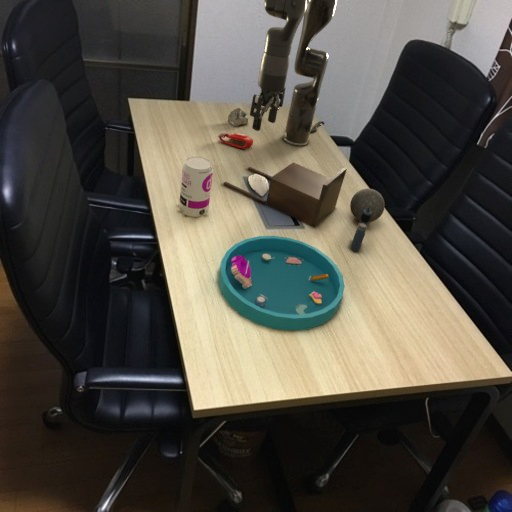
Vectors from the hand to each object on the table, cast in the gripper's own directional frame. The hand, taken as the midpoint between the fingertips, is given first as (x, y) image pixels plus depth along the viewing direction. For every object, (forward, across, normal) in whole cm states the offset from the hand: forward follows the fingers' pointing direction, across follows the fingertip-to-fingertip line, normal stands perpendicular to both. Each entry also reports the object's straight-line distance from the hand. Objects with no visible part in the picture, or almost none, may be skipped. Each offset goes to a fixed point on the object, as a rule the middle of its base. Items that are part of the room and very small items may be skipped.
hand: (263, 125), depth 147 cm
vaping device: (+20, -6, -38) cm, 44 cm away
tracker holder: (+20, +21, +21) cm, 36 cm away
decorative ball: (+20, +9, -34) cm, 41 cm away
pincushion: (+20, +1, -1) cm, 20 cm away
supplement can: (+20, -24, +5) cm, 32 cm away
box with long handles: (+20, +1, -9) cm, 22 cm away
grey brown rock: (+20, +35, +29) cm, 49 cm away
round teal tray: (+20, -35, -30) cm, 51 cm away
